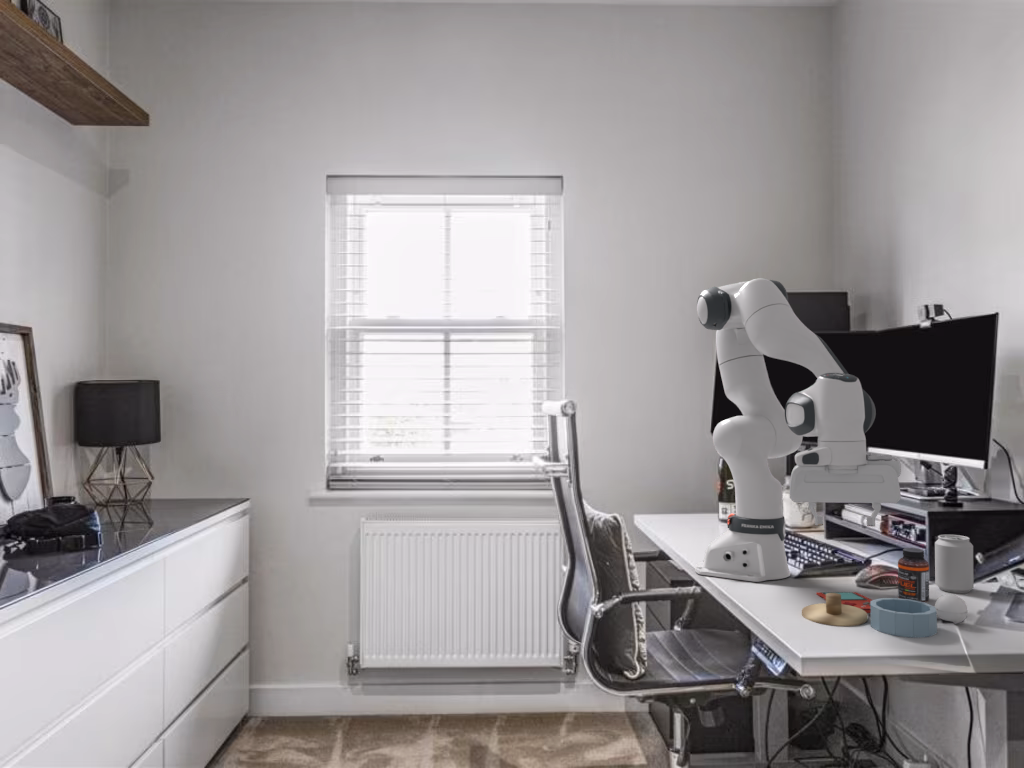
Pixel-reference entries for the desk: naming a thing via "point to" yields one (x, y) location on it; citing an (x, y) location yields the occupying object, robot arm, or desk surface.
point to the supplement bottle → (913, 575)
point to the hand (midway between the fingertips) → (844, 525)
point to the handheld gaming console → (851, 599)
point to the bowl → (903, 617)
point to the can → (954, 563)
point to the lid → (835, 612)
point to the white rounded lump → (951, 608)
